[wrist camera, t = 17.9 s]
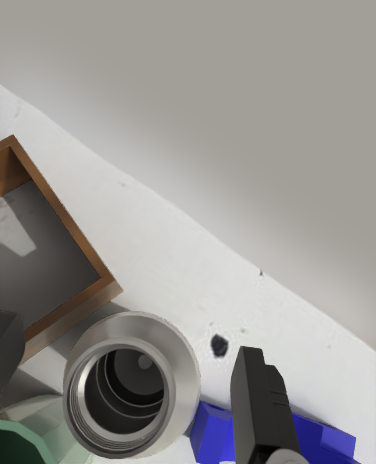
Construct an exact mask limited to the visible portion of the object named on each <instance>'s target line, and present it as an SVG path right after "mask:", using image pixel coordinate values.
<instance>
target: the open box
mask: <svg viewBox="0 0 376 464" xmlns="http://www.w3.org/2000/svg"><path fill="white" fill-rule="evenodd" d="M31 179H33V181H34V182H35V184H36V185H37V186H38V188H39V189H40V191H41V192H42V194H43V195H44V197H45V198H46V199H47V201H48V202H49V204H50V205H51V207H52V208H53V210H54V211H55V212H56V214H57V215H58V217H59V218H60V220H61V221H62V223H63V224H64V225H65V227H66V228H67V230H68V231H69V233H70V234H71V236H72V237H73V238H74V240H75V241H76V243H77V244H78V246H79V247H80V249H81V250H82V251H83V253H84V254H85V256H86V257H87V259H88V260H89V262H90V263H91V264H92V266H93V267H94V269H95V270H96V272H97V273H98V275H99V276H100V277H101V278H100V279H99V280H97V281H96V282H94V283H93V284H91V285H90V286H88V287H87V288H85V289H84V290H83V291H81V292H80V293H78V294H77V295H75V296H74V297H72V298H71V299H70V300H68V301H67V302H65V303H64V304H62V305H61V306H59V307H58V308H57V309H55V310H54V311H52V312H51V313H49V314H48V315H46V316H45V317H44V318H42V319H41V320H39V321H38V322H36V323H35V324H33V325H32V326H31V327H29V328H28V329H26V330H25V331H24V333H25V352H24V355H23V358H22V360H21V362H20V364H19V365H18V366H20V365H21V364H22V363H24V362H25V361H27V360H28V359H29V358H31V357H32V356H34V355H35V354H36V353H38V352H39V351H41V350H42V349H43V348H45V347H46V346H48V345H49V344H50V343H52V342H53V341H55V340H56V339H57V338H59V337H60V336H62V335H63V334H64V333H66V332H67V331H69V330H70V329H71V328H73V327H74V326H75V325H77V324H78V323H80V322H81V321H82V320H84V319H85V318H87V317H88V316H89V315H91V314H92V313H94V312H95V311H96V310H98V309H99V308H101V307H102V306H103V305H105V304H106V303H108V302H109V301H110V300H112V299H113V298H115V297H116V296H117V295H119V294H120V293H122V292H123V289H122V288H121V286H120V285H119V284H118V282H117V281H116V279H115V278H114V276H113V275H112V274H111V272H110V271H109V269H108V268H107V266H106V265H105V264H104V262H103V261H102V259H101V258H100V256H99V255H98V254H97V252H96V251H95V249H94V248H93V247H92V245H91V244H90V242H89V241H88V239H87V238H86V237H85V235H84V234H83V232H82V231H81V229H80V228H79V227H78V225H77V224H76V222H75V221H74V219H73V218H72V217H71V215H70V214H69V212H68V211H67V210H66V208H65V207H64V205H63V204H62V202H61V201H60V200H59V198H58V197H57V195H56V194H55V192H54V191H53V190H52V188H51V187H50V185H49V184H48V182H47V181H46V180H45V178H44V177H43V175H42V174H41V173H40V171H39V170H38V168H37V167H36V165H35V164H34V163H33V161H32V160H31V158H30V157H29V156H28V154H27V153H26V151H25V150H24V149H23V147H22V146H21V145H20V143H19V142H18V140H17V139H16V138H15V136H14V135H11V136H9V137H7V138H5V139H3V140H1V141H0V197H1V196H3V195H5V194H6V193H8V192H10V191H12V190H13V189H15V188H17V187H18V186H20V185H22V184H24V183H25V182H27V181H29V180H31Z"/></svg>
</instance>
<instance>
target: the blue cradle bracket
mask: <svg viewBox="0 0 376 464" xmlns="http://www.w3.org/2000/svg"><path fill="white" fill-rule="evenodd" d="M292 417H293V421H294V425H295V429H296V433H297V438H298V442H299V446H300V450H301V453H302V455H303V457H304V458H305V459H306V460H307V461H308V462H309V464H361V463H359V462H357V461H356V460H354V459H353V456H354V449H355V442H356V437H354V436H352V435H350V434H348V433H346V432H344V431H342V430H339V429H337V428H334V427H332V426H329V425H326V424H323V423H320V422H317V421H314V420H311V419H309V418H306V417H303V416H300V415H297V414H294V413H292ZM190 442H191V446H192V449H193V453H194V456H195V460H196V462H197V463H200V464H219V462H221V461H235V462H236V459H235V446H234V433H233V420H232V412H231V411H229V410H226V409H223V408H220V407H217V406H214V405H211V404H209V403H206V402H203V401H200V403H199V407H198V410H197V414H196V417H195V421H194V424H193V428H192V431H191V435H190Z"/></svg>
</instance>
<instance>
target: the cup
mask: <svg viewBox="0 0 376 464" xmlns="http://www.w3.org/2000/svg"><path fill="white" fill-rule="evenodd" d="M62 398H63V396H59V395H53V394H46V395H45V394H44V395H39V396H35V397H32V398H29V399H25V400H22V401H20V402H17V403H15V404H13V405H10V406H8V407H5V408H3V409H0V464H92V460H93V456H94V454H93V453H91V452H89V451H88V450H87V449H85V448H84V447H83V446H82V445H80V444H79V443H78V441H77V440H76V439H75V438H74V436H73V435H72V434H71V432H70V430H69V428H68V426H67V424H66V420H65V417H64V413H63V404H62Z"/></svg>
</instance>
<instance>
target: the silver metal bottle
mask: <svg viewBox="0 0 376 464" xmlns="http://www.w3.org/2000/svg"><path fill="white" fill-rule="evenodd" d="M200 392H201V375H200V370H199V365H198V361H197V358H196V356H195V353H194V351H193V348H192V347H191V345H190V344H189V342H188V341H187V339H186V337H185V336H184V335H183V334H182V333H181V332H180V331H179V330H178V329H177V328H176V327H175V326H173V325H172V324H171V323H169V322H168V321H167V320H165V319H163V318H160V317H158V316H156V315H154V314H149V313H145V312H138V311H127V312H121V313H116V314H113V315H110V316H107V317H105V318H103V319H101V320H100V321H98V322H96V323H95V324H93V325H92V326H91V327H90V328H89V329H87V330H86V331H85V332H84V333H83V334H82V335H81V337H80V338H79V339H78V341H77V342H76V343H75V345H74V347H73V349H72V351H71V353H70V355H69V357H68V360H67V363H66V367H65V370H64V378H63V398H62V404H63V413H64V417H65V420H66V424H67V426H68V428H69V430H70V432H71V434H72V435H73V436H74V438H75V439H76V440H77V441H78V443H79V444H80V445H82V446H83V447H84V448H85V449H87V450H88V451H89V452H91V453H93V454H96V455H98V456H100V457H105V458H109V459H138V458H143V457H148V456H152V455H154V454H156V453H159V452H161V451H163V450H165V449H166V448H168V447H169V446H170V445H172V444H173V443H174V442H176V441H177V440H178V439H179V438H180V436H181V435H182V434H183V433H184V432H185V431H186V430H187V428H188V426H189V425H190V423H191V421H192V419H193V418H194V415H195V412H196V410H197V407H198V404H199V398H200Z"/></svg>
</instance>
